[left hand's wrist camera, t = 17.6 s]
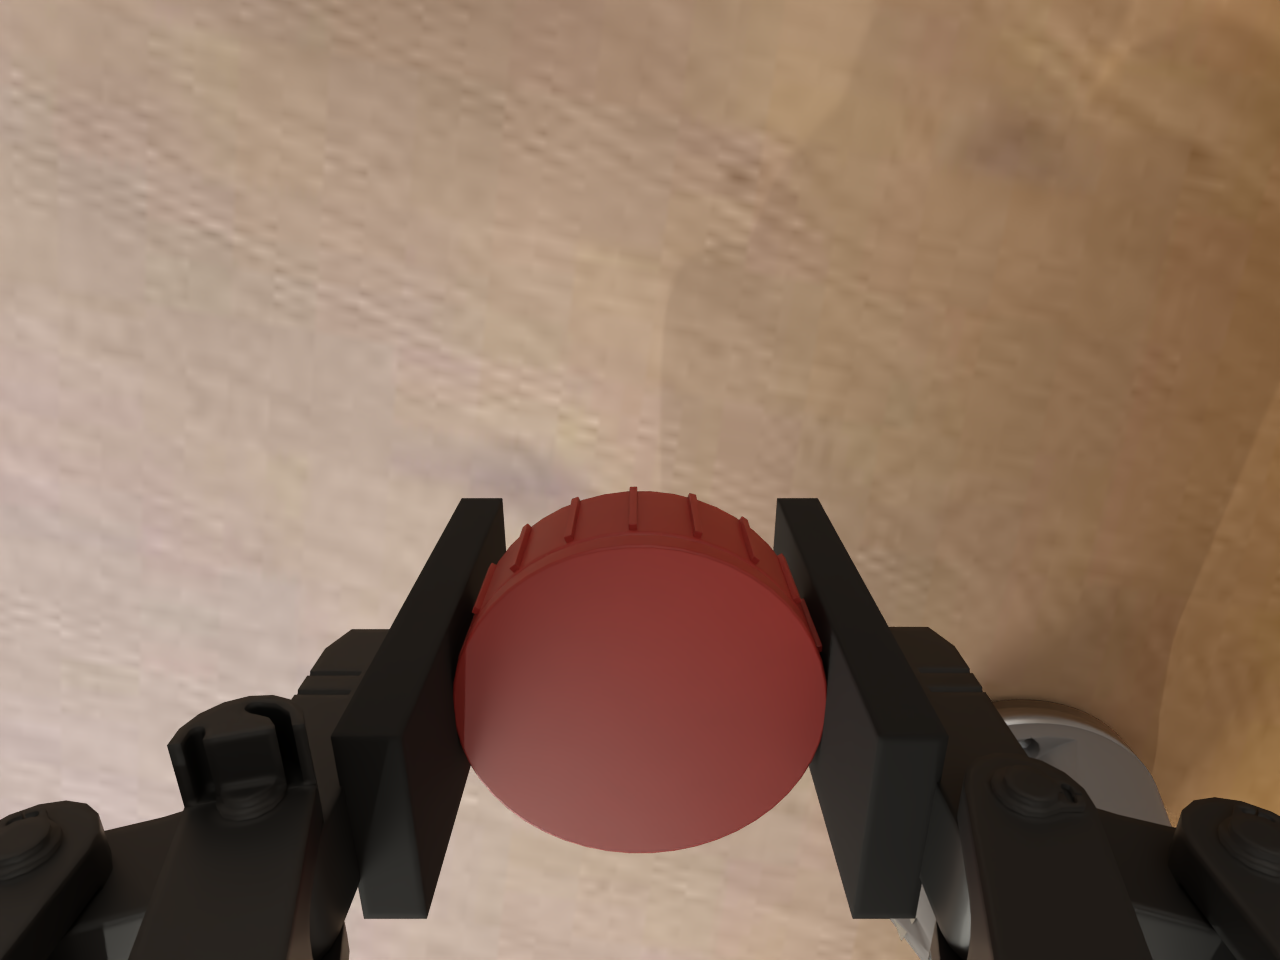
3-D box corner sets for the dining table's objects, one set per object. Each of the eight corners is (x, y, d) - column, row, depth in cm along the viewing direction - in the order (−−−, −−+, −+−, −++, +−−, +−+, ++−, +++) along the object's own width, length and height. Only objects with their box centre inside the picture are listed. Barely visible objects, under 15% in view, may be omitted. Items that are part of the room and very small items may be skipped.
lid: (824, 741, 13) (852, 828, 11) (521, 790, 13) (504, 881, 12) (783, 455, 11) (809, 506, 9) (431, 521, 12) (394, 583, 10)
